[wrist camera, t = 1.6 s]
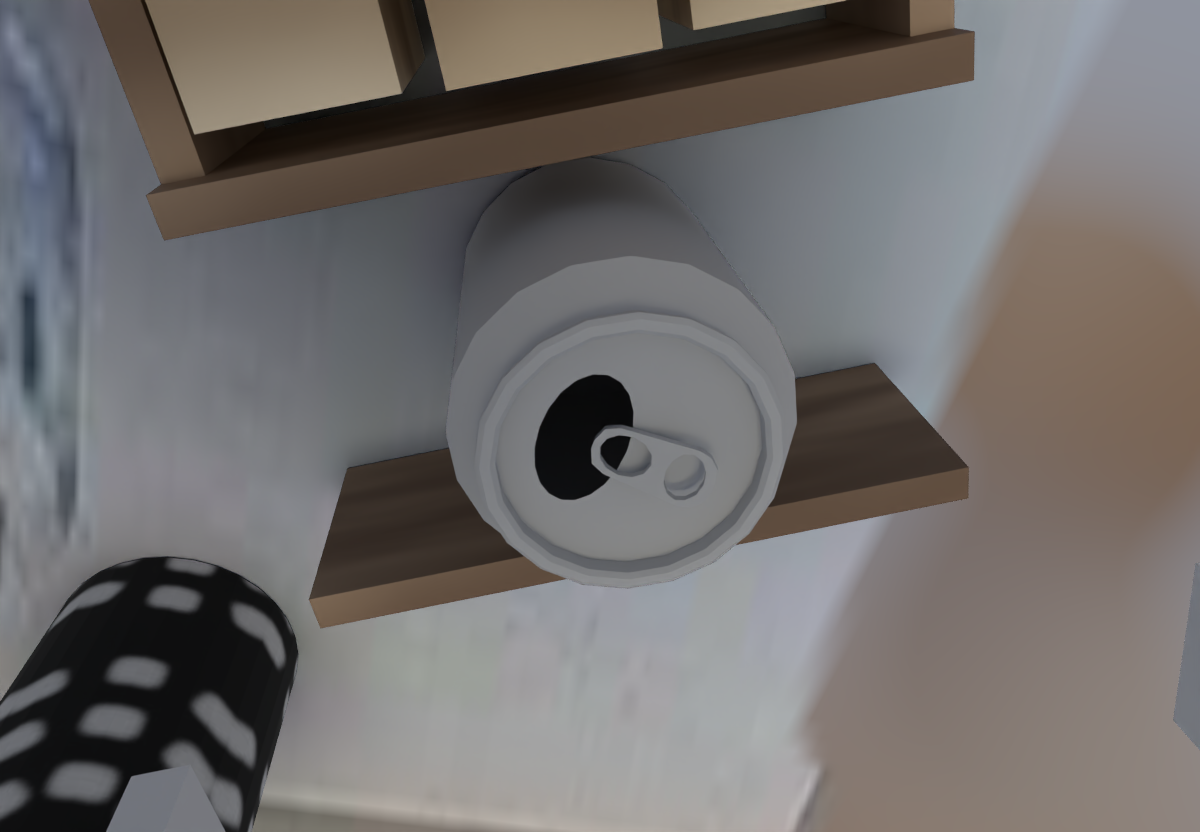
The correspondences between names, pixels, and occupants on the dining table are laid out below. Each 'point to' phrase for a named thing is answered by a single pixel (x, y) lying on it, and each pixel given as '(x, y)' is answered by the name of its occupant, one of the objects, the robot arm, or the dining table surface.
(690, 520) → the can
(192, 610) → the spotted tube
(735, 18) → the offcut block
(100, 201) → the dining table surface
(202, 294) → the dining table surface
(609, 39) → the offcut block
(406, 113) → the rack
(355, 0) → the offcut block
